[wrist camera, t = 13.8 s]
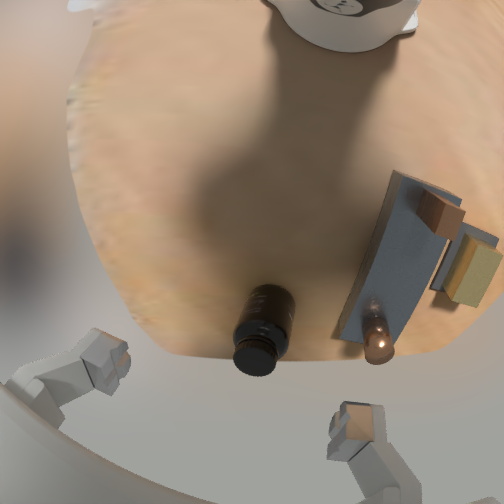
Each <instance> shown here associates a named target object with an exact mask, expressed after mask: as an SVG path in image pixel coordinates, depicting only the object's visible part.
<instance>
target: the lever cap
mask: <svg viewBox="0 0 504 504" xmlns="http://www.w3.org/2000/svg"><path fill="white" fill-rule="evenodd" d="M502 257H503V255H502V254H501V253H500V252H499V251H498V250H497V249H496V248H495V247H493V246H492V245H491V244H490V243H489V242H486V241H484V240H482V239H479V238H477V237H474V236H472V235H470V234H467V233H465V234H464V236H463V239H462V241H461V244H460V246H459V249H458V251H457V253H456V256H455V258H454V260H453V262H452V265H451V267H450V269H449V271H448V273H447V275H446V277H445V279H444V281H443V283H442V286H443V288H444V289H445V291H446V293H447V294H448V296H449V298H450V299H451V301H454V302H457V303H461V304H465V305H468V306H472V307H476V308H477V306H478V305H479V303H480V301H481V299H482V297H483V296H484V294H485V292H486V290H487V288H488V286H489V284H490V282H491V280H492V278H493V276H494V274H495V272H496V270H497V268H498V266H499V264H500V261H501V259H502Z"/></svg>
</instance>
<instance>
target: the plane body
mask: <svg viewBox="0 0 504 504" xmlns="http://www.w3.org/2000/svg"><path fill="white" fill-rule="evenodd" d="M461 201H462V199H461V198H459V197H457V196H456V195H454V194H452V193H451V192H449V191H447V190H445V189H442V188H440V187H437V186H435V185H433V184H430V183H428V182H425V181H422V180H420V179H417V178H415V177H412V176H409V175H407V174H404V173H401V172H398V171H396V170H393V173H392V177H391V180H390V184H389V187H388V190H387V194H386V197H385V200H384V203H383V206H382V209H381V212H380V216H379V219H378V222H377V224H376V227H375V230H374V233H373V236H372V239H371V242H370V244H369V247H368V250H367V252H366V255H365V258H364V260H363V263H362V266H361V268H360V271H359V273H358V276H357V278H356V281H355V283H354V286H353V288H352V290H351V293H350V295H349V298H348V300H347V302H346V305H345V307H344V309H343V311H342V314H341V316H340V318H339V339H344V340H348V341H353V342H358V343H362V344H364V351H365V359H366V360H367V362H368V363H370V364H373V365H380V364H384V363H386V362H388V361H389V360H390V359H392V357H393V356H394V352H395V351H394V346H393V345H394V344H395V342H396V340H397V339H398V337H399V335H400V334H401V332H402V330H403V329H404V327H405V325H406V323H407V322H408V320H409V318H410V316H411V315H412V313H413V311H414V309H415V307H416V305H417V303H418V302H419V300H420V298H421V296H422V294H423V292H424V290H425V288H426V286H427V284H428V282H429V280H430V278H431V276H432V273H433V271H434V269H435V267H436V265H437V263H438V260H439V258H440V256H441V253H442V251H443V249H444V246H445V244H446V242H447V239H449V240H452V241H455V239H456V236H457V234H458V231H459V229H460V226H461V223H462V221H463V218H464V215H465V211H464V210H462V209H461V208H460V204H461Z"/></svg>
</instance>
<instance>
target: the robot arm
mask: <svg viewBox="0 0 504 504" xmlns="http://www.w3.org/2000/svg"><path fill="white" fill-rule="evenodd" d="M267 1H269V2H270V3H272V4H273V5H275V6H276V7H277V8H278V10H279V11H280V13H281V15H282V16H283V18H284V20H285V21H286V23H287V24H288V25H289V26H290V27H291V28H292V29H293V30H294V31H295V32H296V33H297V34H298V35H300V36H301V37H303V38H304V39H306V40H307V41H309V42H311V43H313V44H315V45H318V46H320V47H323V48H326V49H330V50H334V51H339V52H363V51H368V50H372V49H374V48H377V47H379V46H381V45H383V44H384V43H386V42H387V41H388V40H390V39H391V38H392V37H394V36H395V35H398V34H405V33H410V32H413V31H415V30H416V28H417V27H418V18H417V11H416V9H417V7H418V6H419V4H420V0H267ZM127 350H128V344H127V342H126V341H123V340H121V339H119V338H117V337H114V336H112V335H110V334H108V333H106V332H104V331H101V330H99V329H97V328H93V329H91V330H90V331H89V332H88V333H87V334H86V335H85V336H84V337H83V338H82V339H81V340H80V342H79V343H78V344H77V345H76V346H75V347H74V348H73V349H72V350H71V351H70V352H68V351H65V352H62V353H59V354H56V355H53V356H50V357H47V358H44V359H41V360H38V361H35V362H32V363H28V364H25V365H22V366H21V367H20V368H19V369H18V370H17V371H16V372H15V374H14V375H13V376H12V377H11V378H10V379H9V380H8V381H7V382H6V384H5V385H3V384H2V383H1V382H0V504H217V503H213V502H209V501H206V500H203V499H199V498H196V497H193V496H190V495H187V494H184V493H181V492H178V491H176V490H173V489H170V488H167V487H165V486H162V485H160V484H157V483H155V482H153V481H150V480H148V479H146V478H143V477H141V476H139V475H137V474H134V473H132V472H130V471H128V470H126V469H124V468H122V467H120V466H118V465H116V464H114V463H112V462H110V461H108V460H106V459H105V458H103V457H101V456H99V455H98V454H96V453H94V452H92V451H91V450H89V449H87V448H86V447H84V446H82V445H81V444H79V443H78V442H76V441H74V440H73V439H71V438H70V437H68V436H67V435H65V434H64V433H62V432H61V431H59V430H58V428H59V427H60V425H61V424H62V422H63V421H64V420H65V416H64V414H63V413H62V411H61V410H60V409H59V407H60V406H62V405H64V404H66V403H68V402H70V401H72V400H74V399H76V398H78V397H80V396H82V395H84V394H86V393H88V392H90V391H91V390H93V389H94V388H95V389H97V390H99V391H101V392H103V393H105V394H108V395H110V396H112V395H113V393H114V392H115V391H116V389H117V388H118V386H119V379H121V378H123V377H125V376H126V375H127V373H128V372H129V368H130V366H131V357H130V355H129V354H128V352H127ZM329 436H330V437H331V439H332V440H331V441H330V443H329V444H328V448H327V460H335V461H345V462H348V465H349V467H350V469H351V471H352V473H353V475H354V477H355V479H356V480H357V483H358V485H359V487H360V488H361V491H362V492H363V494H364V496H365V498H366V499H365V500H363V501H361V502H359V503H357V504H422V489H421V483H420V482H419V480H418V479H417V478H416V476H415V475H414V474H413V472H412V471H411V470H410V468H409V467H408V466H407V464H406V463H405V462H404V460H403V459H402V457H401V456H400V455H399V453H398V452H397V451H396V449H395V448H394V447H393V445H392V444H391V443H387V433H386V421H385V411H384V407H383V406H382V405H374V404H367V403H358V402H348V401H344V402H343V403H342V404H341V405H340V411H338V412H336V413H335V414H334V416H333V417H332V420H331V422H330V427H329ZM468 504H500V503H499V502H498V501H497V500H496V499H495V498H493V497H487V498H484V499H481V500H478V501H474V502H471V503H468Z"/></svg>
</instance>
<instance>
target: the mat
mask: <svg viewBox="0 0 504 504" xmlns="http://www.w3.org/2000/svg"><path fill="white" fill-rule="evenodd" d="M465 233H467V234H470V235H472V236H474V237H477V238H479V239H482V240H484V241H486V242H489V243H490V244H491V245H492V246H493V247H495V248H496V246H497V243H498V241H499V238H497V237H495V236H493V235H491V234H489V233H487V232H484V231H482V230H480V229H478V228H475V227H473V226H471V225H469V224H466V223H464V222H462V223H461V226H460V229H459V231H458V234H457V236H456V239H455V241H452V240H450V243H449V245H448V248H447V250H446V252H445V255H444V257H443V259H442V262H441V264H440V266H439V268H438V270H437V272H436V275H435V277H434V279H433V281H432V283H431V285H430V287H431V288H432V289H436V290H439V291H443V292H446V291H445V289H444V288H443V286H442V283H443V281H444V279H445V277H446V275H447V273H448V271H449V269H450V267H451V265H452V262H453V260H454V258H455V256H456V253H457V251H458V249H459V246H460V244H461V241H462V239H463V236H464V234H465Z"/></svg>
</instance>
